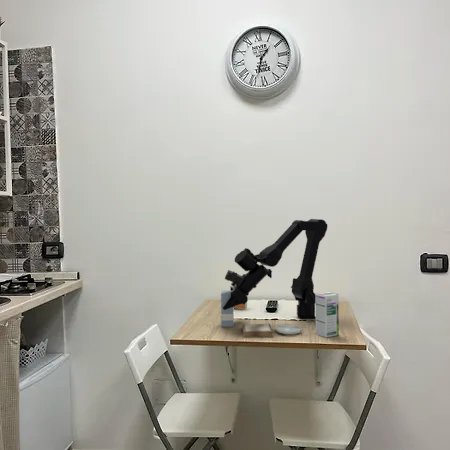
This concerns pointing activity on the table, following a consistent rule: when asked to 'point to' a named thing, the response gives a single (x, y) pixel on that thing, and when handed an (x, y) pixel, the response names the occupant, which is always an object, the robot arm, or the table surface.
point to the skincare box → (241, 305)
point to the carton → (227, 314)
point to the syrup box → (327, 314)
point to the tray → (257, 330)
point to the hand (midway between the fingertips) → (223, 307)
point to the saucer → (288, 329)
